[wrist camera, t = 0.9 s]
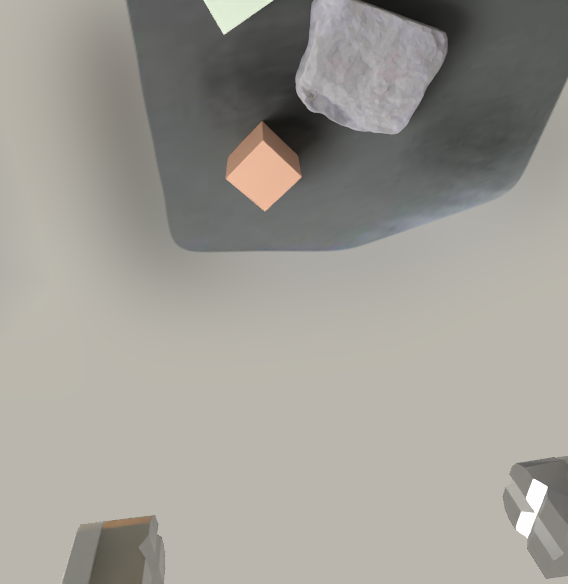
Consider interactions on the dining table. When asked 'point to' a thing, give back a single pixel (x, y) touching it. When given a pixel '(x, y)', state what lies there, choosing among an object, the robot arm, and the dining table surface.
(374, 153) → the dining table surface
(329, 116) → the stone block
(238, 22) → the sage cube
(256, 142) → the terracotta cube
